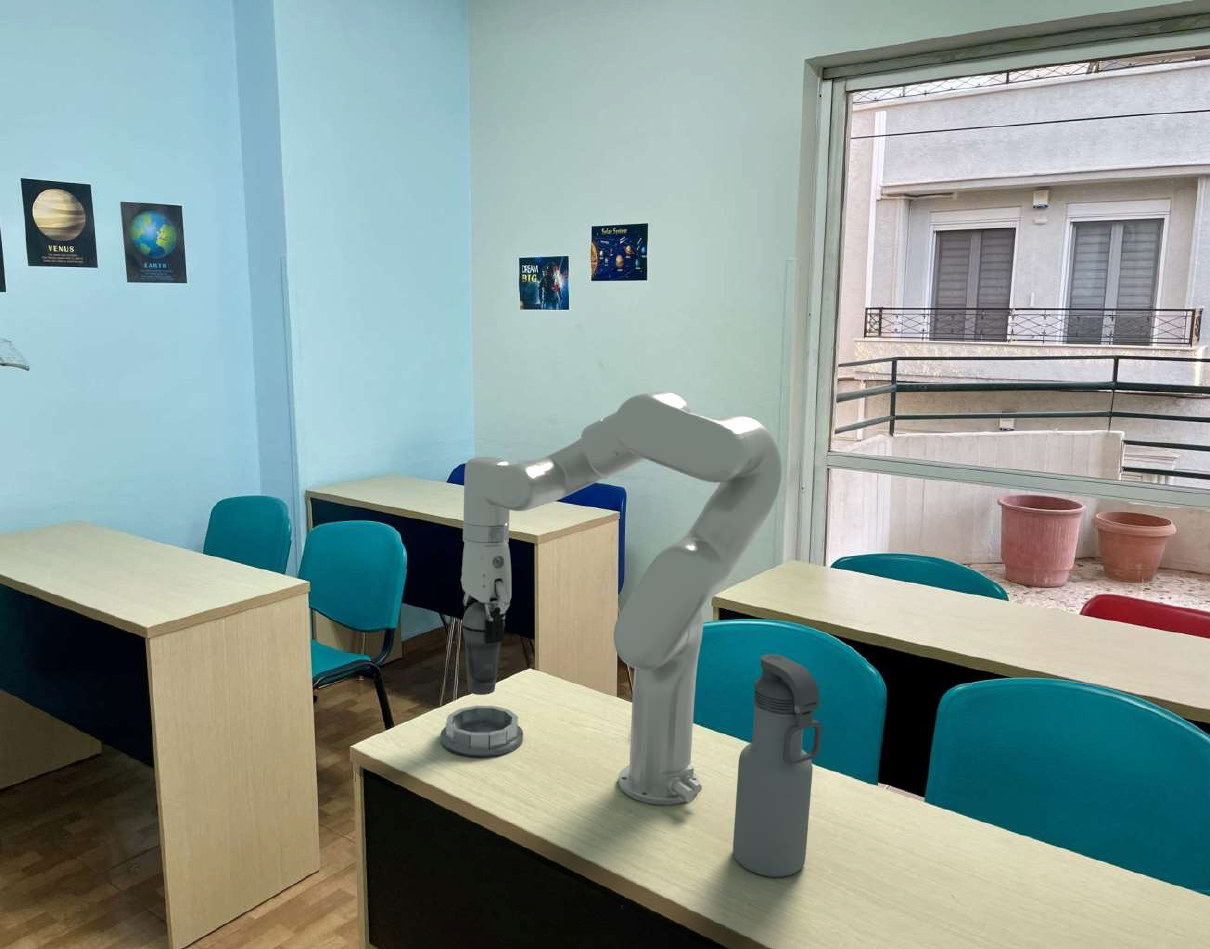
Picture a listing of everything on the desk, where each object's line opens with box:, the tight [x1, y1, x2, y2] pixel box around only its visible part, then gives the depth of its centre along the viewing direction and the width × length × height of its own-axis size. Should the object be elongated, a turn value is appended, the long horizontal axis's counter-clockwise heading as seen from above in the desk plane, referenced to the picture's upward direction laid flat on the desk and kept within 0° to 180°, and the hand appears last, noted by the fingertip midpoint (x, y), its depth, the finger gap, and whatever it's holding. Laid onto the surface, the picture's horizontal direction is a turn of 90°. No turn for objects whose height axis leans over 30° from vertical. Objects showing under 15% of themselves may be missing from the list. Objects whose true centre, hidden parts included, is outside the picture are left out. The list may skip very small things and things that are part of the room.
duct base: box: [440, 705, 524, 759], centre depth 160 cm, size 14×14×4 cm
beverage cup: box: [461, 601, 506, 696], centre depth 157 cm, size 7×7×20 cm
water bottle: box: [732, 653, 823, 878], centre depth 125 cm, size 10×10×28 cm
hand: (483, 634), depth 157 cm, fingers closed on beverage cup, 7 cm apart
